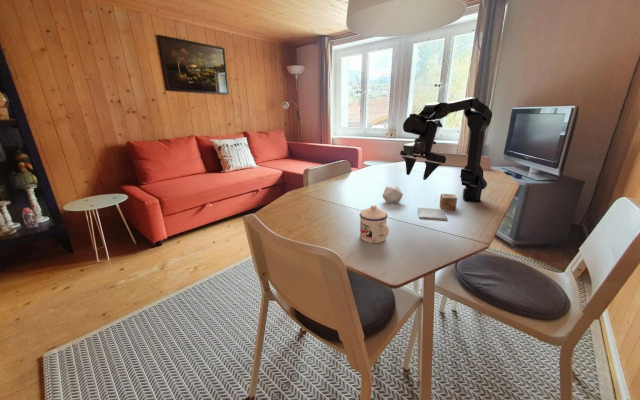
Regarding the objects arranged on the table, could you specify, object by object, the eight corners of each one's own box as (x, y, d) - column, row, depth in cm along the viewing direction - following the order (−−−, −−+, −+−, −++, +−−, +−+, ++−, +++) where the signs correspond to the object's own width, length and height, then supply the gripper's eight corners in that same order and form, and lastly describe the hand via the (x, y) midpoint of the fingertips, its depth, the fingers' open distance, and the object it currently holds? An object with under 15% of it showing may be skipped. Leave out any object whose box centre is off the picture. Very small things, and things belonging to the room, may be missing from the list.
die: (398, 209, 114) (408, 190, 114) (381, 199, 114) (391, 180, 114) (393, 208, 122) (402, 191, 123) (377, 200, 122) (386, 182, 123)
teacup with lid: (354, 235, 91) (354, 204, 87) (375, 229, 94) (376, 199, 91) (375, 250, 81) (376, 216, 77) (398, 243, 84) (400, 210, 80)
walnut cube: (453, 206, 113) (454, 194, 111) (455, 210, 108) (457, 198, 106) (439, 205, 114) (440, 193, 113) (441, 209, 110) (442, 197, 108)
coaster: (443, 210, 108) (443, 209, 108) (447, 220, 99) (447, 218, 99) (418, 209, 111) (418, 207, 111) (419, 218, 102) (419, 216, 102)
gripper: (394, 132, 103) (385, 170, 107) (429, 135, 87) (417, 180, 90) (415, 137, 108) (405, 173, 111) (452, 140, 91) (440, 183, 95)
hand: (415, 177), depth 102 cm, fingers open, 9 cm apart
